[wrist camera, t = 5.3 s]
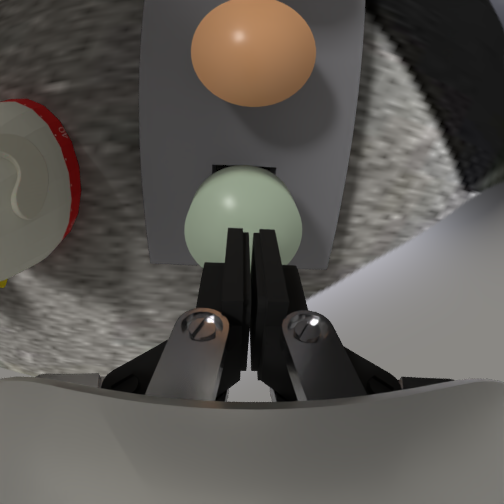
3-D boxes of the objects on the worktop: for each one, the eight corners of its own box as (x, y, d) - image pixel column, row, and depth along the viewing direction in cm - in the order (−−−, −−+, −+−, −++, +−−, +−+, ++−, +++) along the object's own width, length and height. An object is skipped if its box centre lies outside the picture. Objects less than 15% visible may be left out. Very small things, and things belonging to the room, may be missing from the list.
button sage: (198, 149, 16) (182, 175, 12) (291, 154, 16) (310, 182, 12) (199, 231, 19) (187, 280, 14) (282, 234, 19) (293, 283, 15)
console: (173, -88, 9) (165, -106, 6) (349, -75, 9) (363, -92, 7) (160, 241, 22) (150, 263, 20) (317, 247, 23) (326, 269, 20)
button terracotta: (207, 18, 13) (195, -5, 9) (298, 24, 13) (319, 4, 9) (203, 100, 16) (188, 105, 11) (292, 104, 16) (310, 112, 12)
